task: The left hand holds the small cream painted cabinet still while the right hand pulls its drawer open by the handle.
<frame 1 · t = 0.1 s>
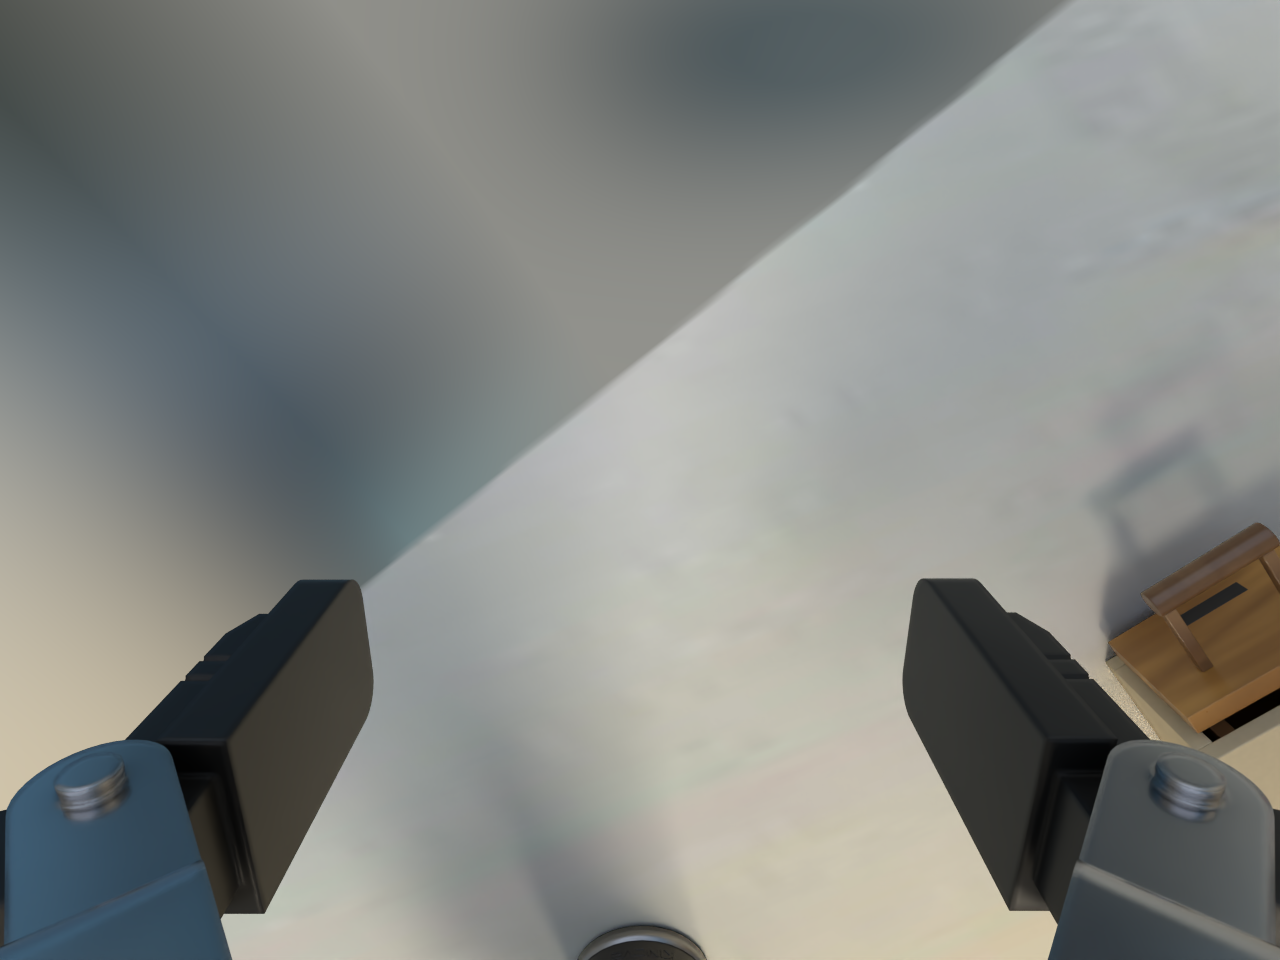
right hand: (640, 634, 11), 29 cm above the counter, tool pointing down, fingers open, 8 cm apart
cabinet: (1271, 730, 47), on the counter
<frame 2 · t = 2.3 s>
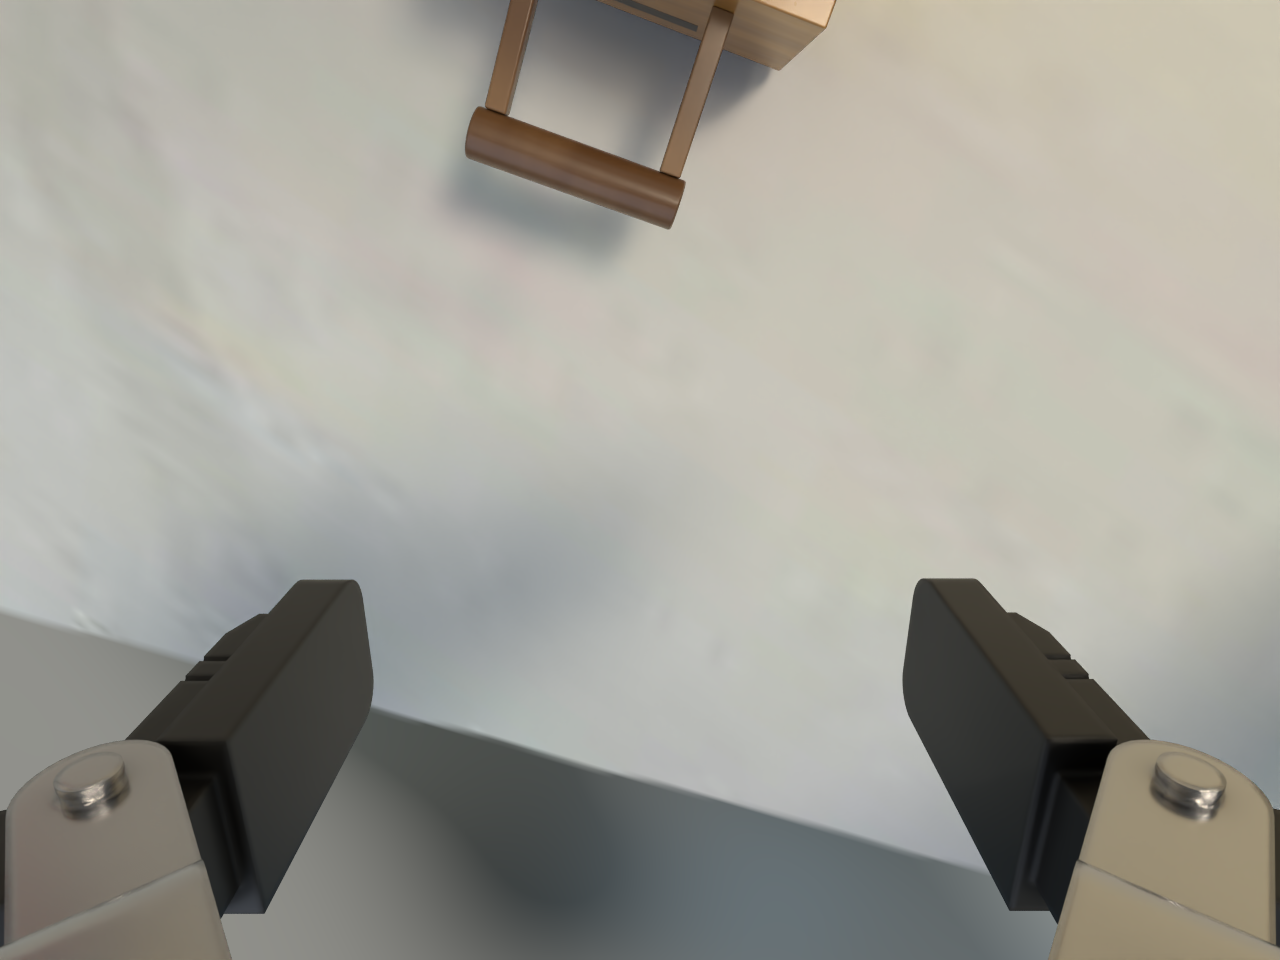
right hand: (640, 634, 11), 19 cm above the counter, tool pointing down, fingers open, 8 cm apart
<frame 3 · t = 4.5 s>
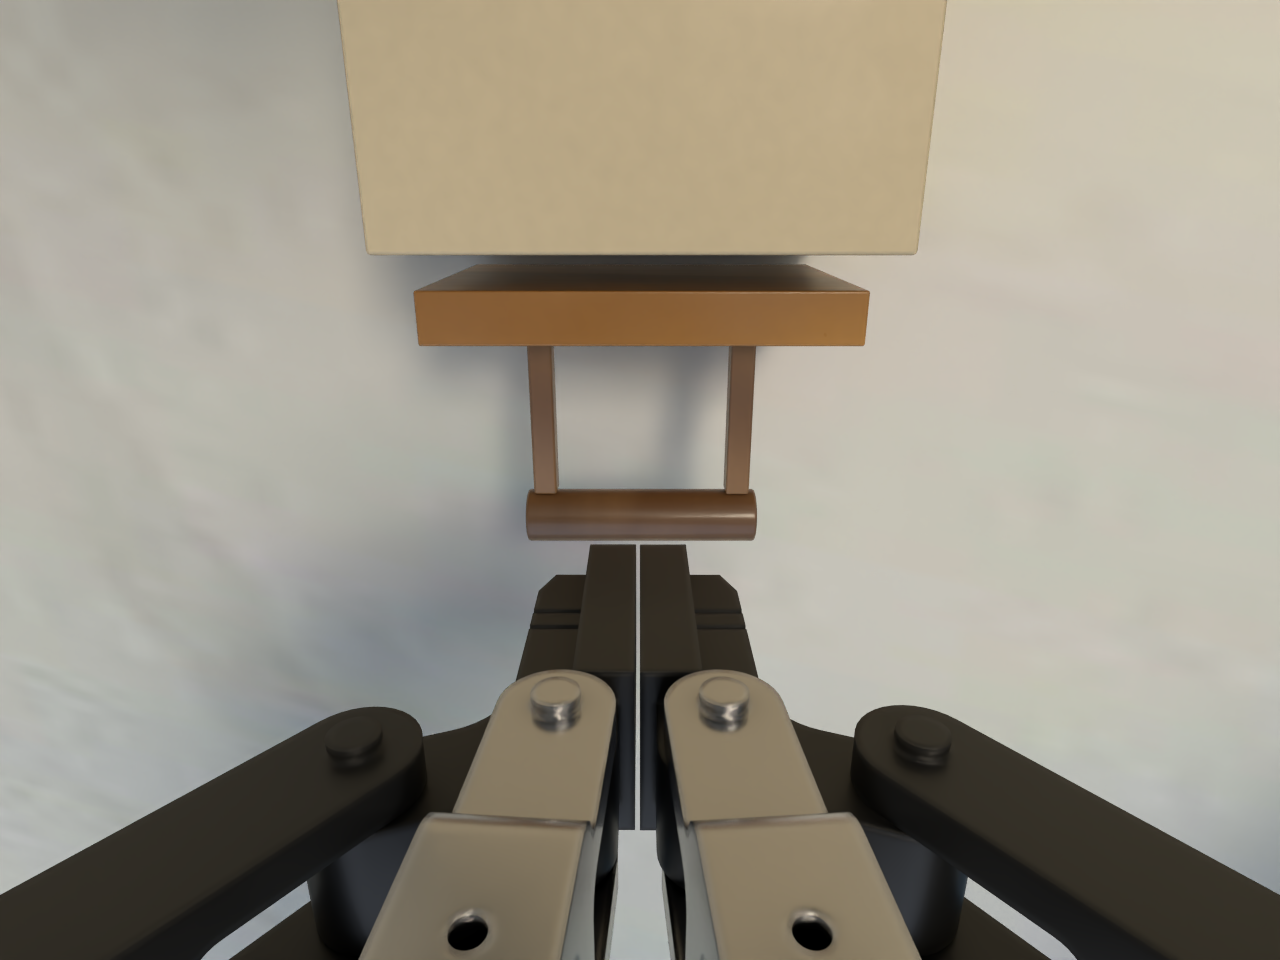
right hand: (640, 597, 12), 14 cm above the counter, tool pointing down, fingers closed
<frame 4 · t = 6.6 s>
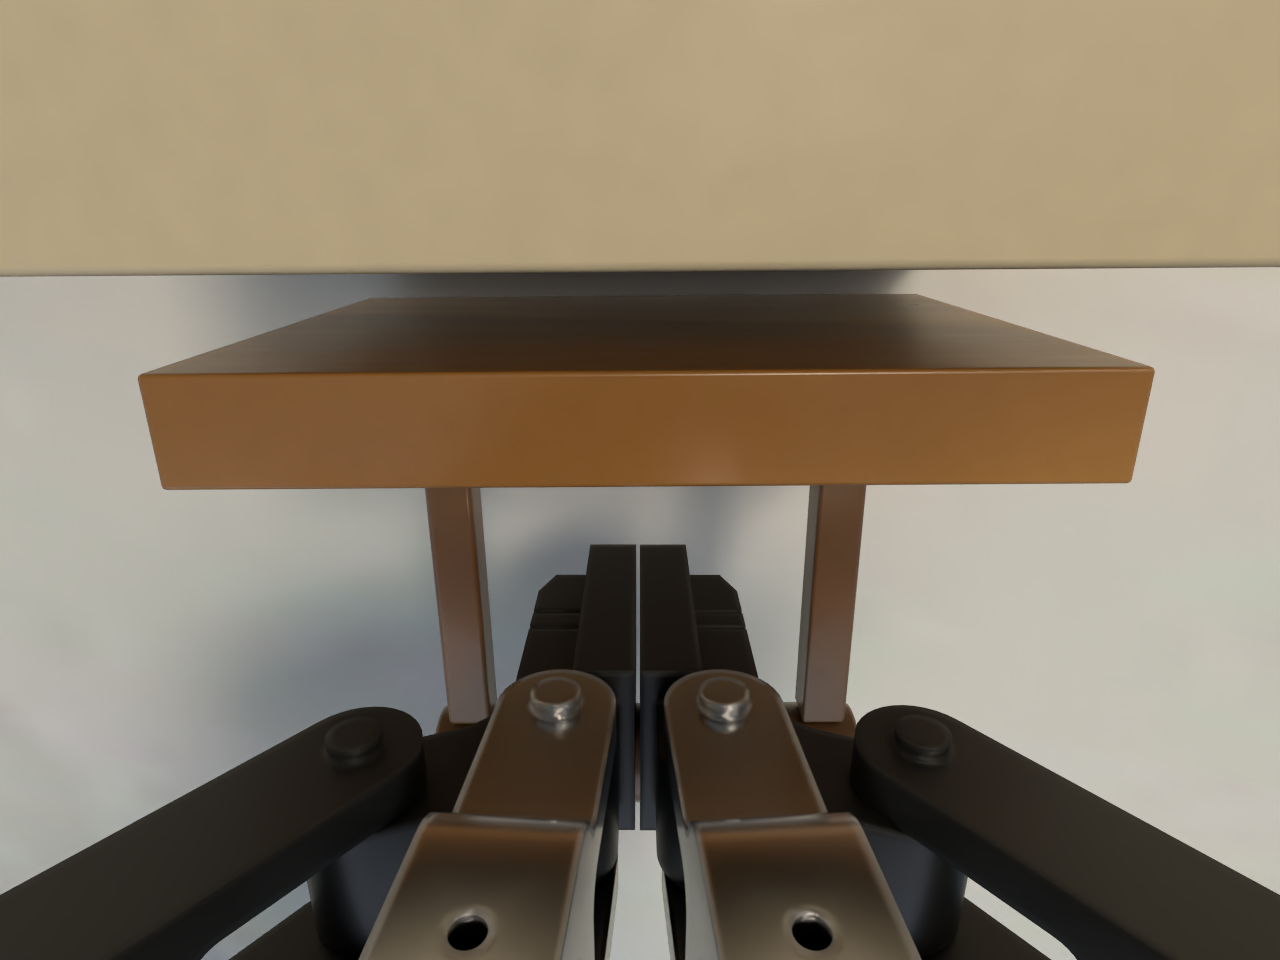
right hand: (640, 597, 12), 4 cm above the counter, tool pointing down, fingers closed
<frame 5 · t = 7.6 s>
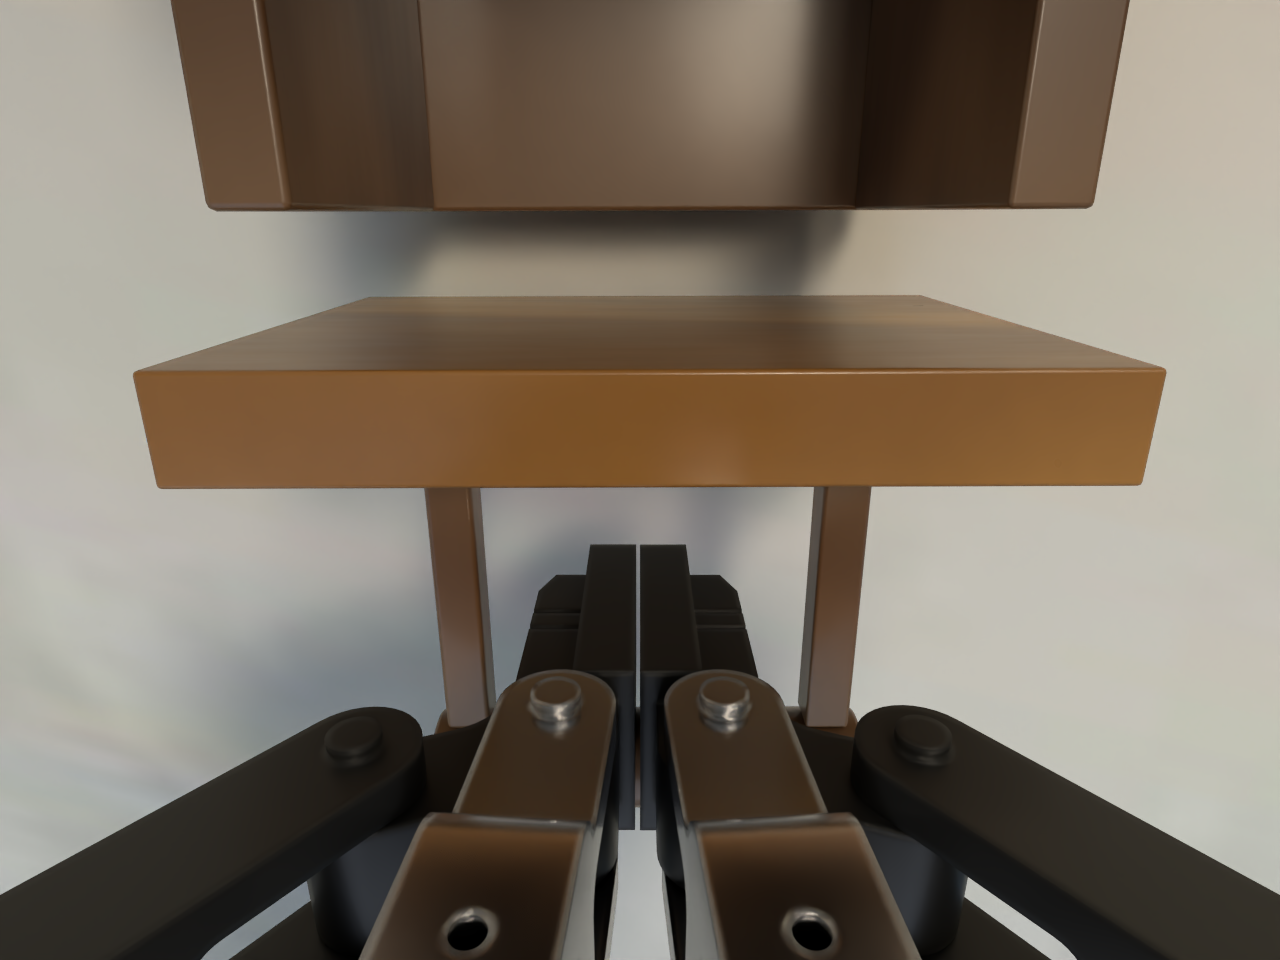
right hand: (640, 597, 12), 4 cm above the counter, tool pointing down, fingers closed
when the left hand's fingers open (4 cm above the counter, at t = 9.4 s): cabinet stays where it is, on the counter.
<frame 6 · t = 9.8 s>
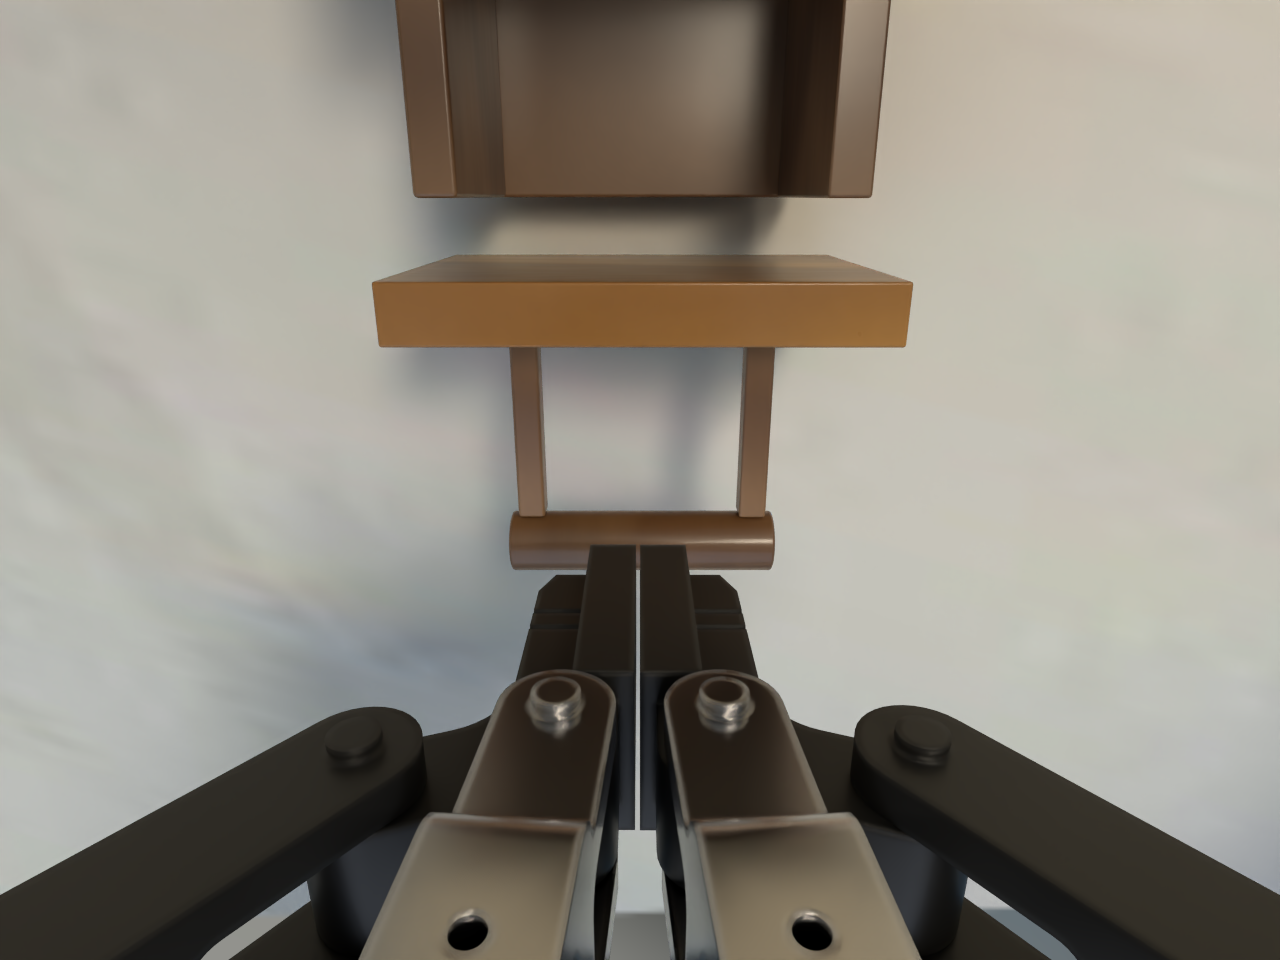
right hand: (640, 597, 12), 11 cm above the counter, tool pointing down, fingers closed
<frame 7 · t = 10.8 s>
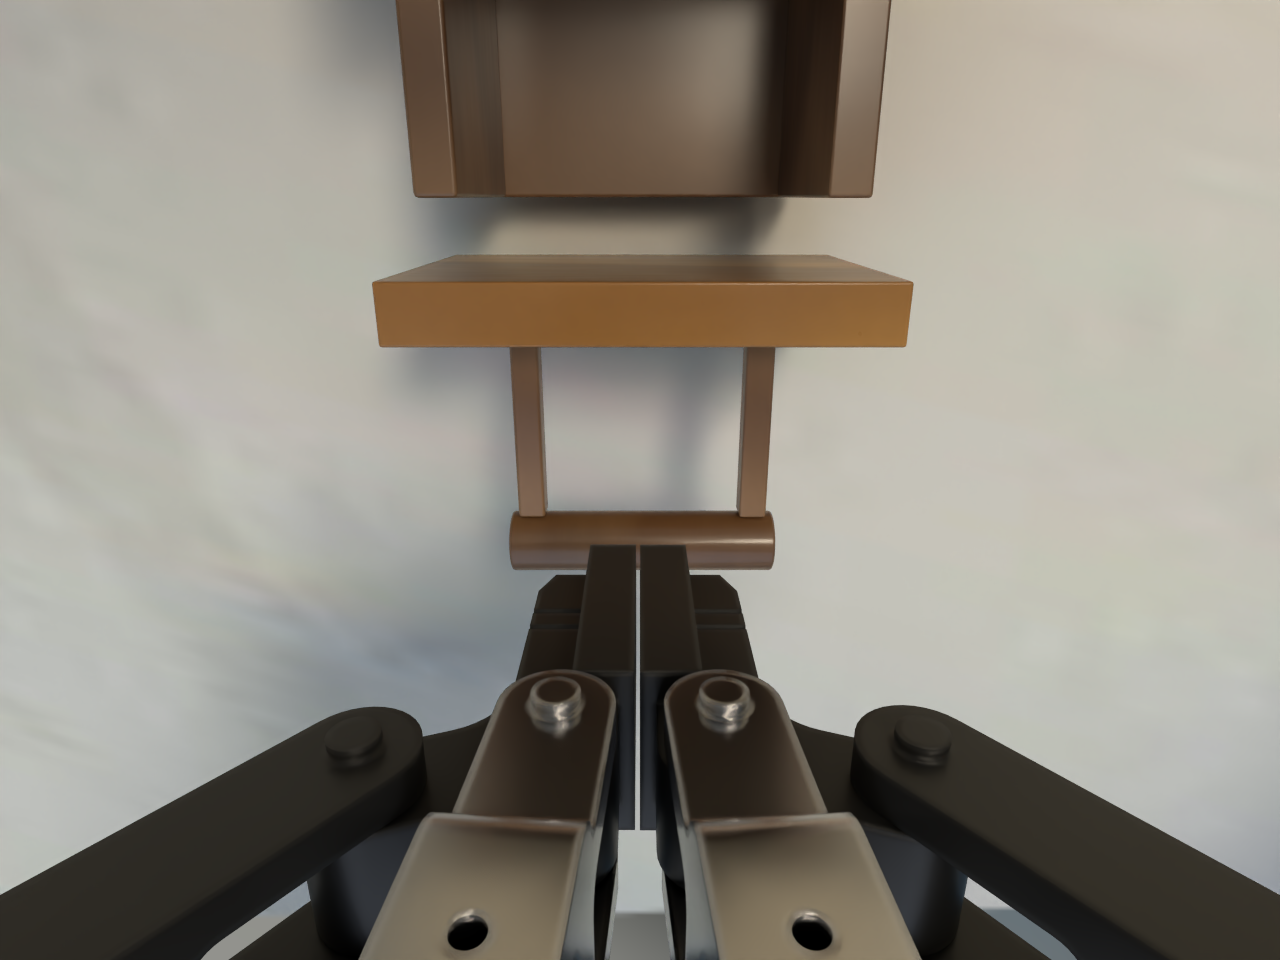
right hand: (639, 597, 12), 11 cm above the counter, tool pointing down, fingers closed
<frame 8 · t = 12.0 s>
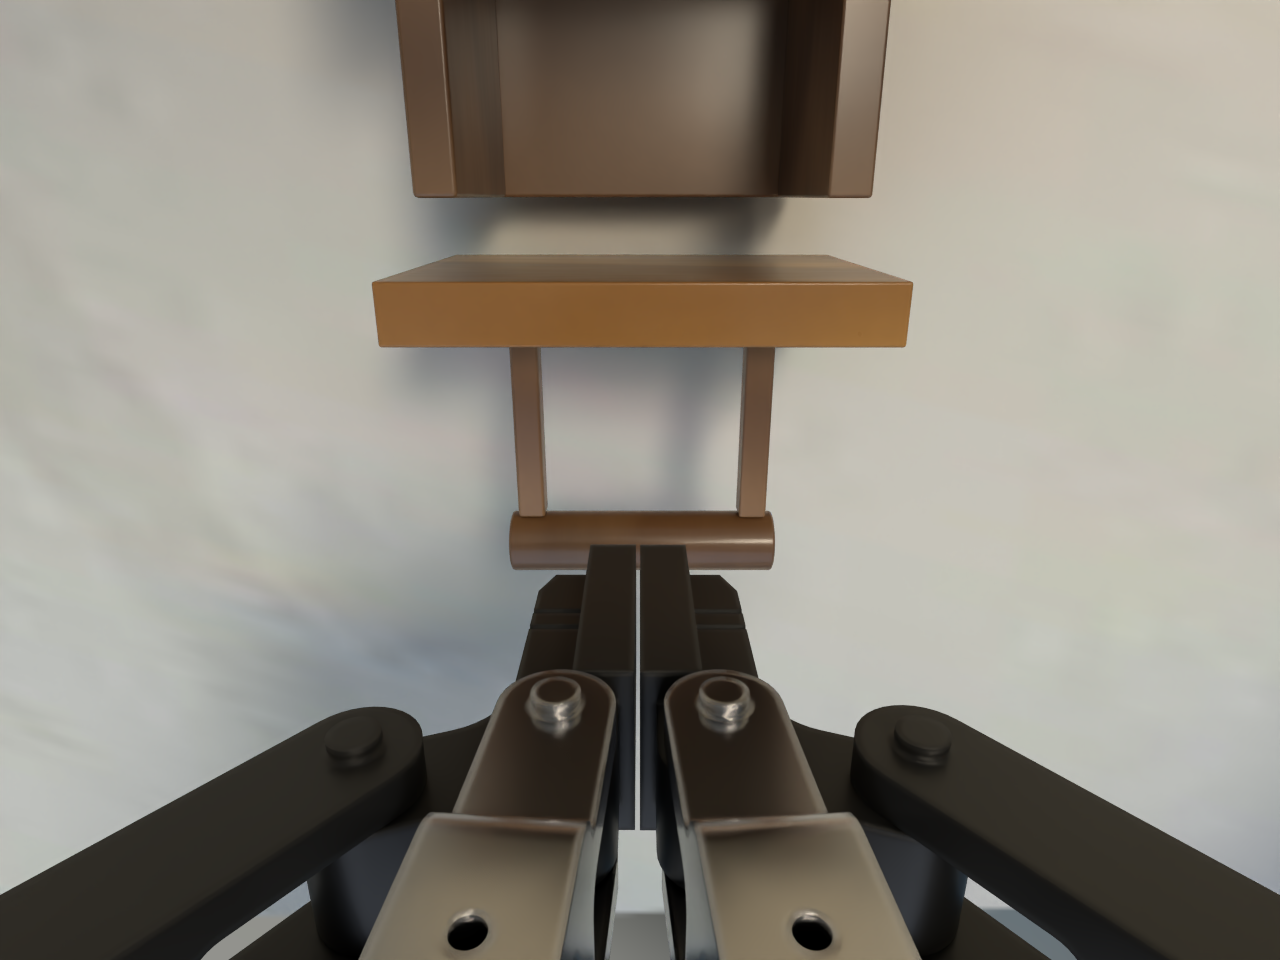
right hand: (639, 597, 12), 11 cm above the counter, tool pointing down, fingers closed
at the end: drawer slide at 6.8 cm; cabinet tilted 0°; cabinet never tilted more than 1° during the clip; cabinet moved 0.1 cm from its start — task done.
